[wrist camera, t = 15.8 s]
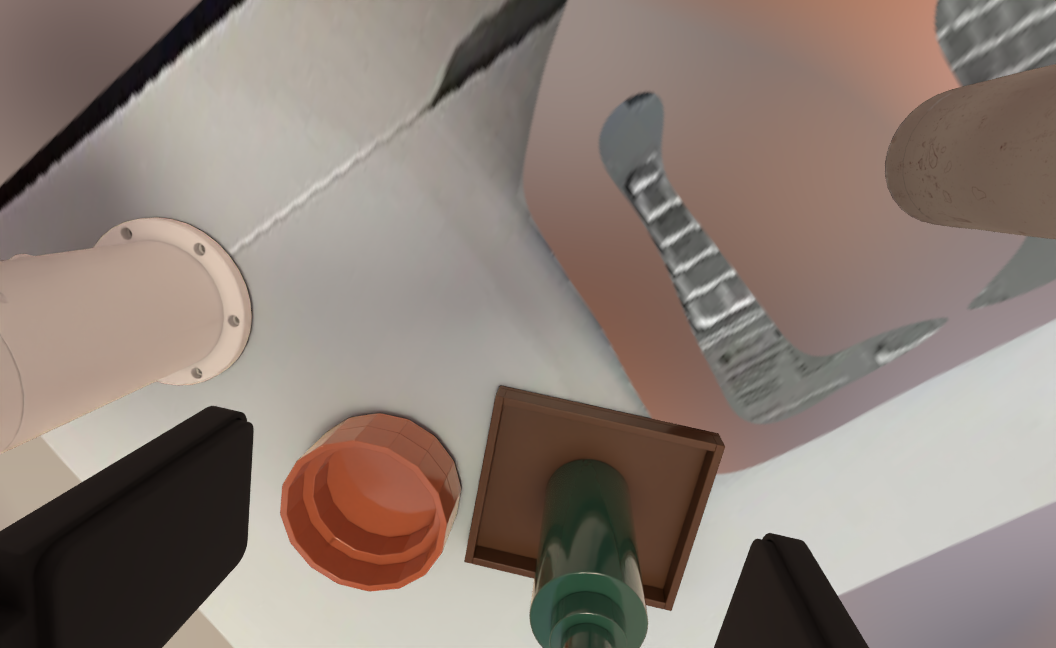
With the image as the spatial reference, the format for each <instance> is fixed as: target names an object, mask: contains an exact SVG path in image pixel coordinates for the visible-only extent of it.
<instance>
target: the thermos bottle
mask: <svg viewBox="0 0 1056 648" xmlns="http://www.w3.org/2000/svg"><path fill="white" fill-rule="evenodd" d="M885 177H886V181H887V186H888V189H889V191H890V193H891V196H892V198H893V199H894V201H895V202H896V203H897V204H898V206H900V208H901V209H902V210H903V211H905V212H906V213H907V214H908V215H910V216H911V217H914V218H916V219H918V220H920V221H923V222H927V223H931V224H936V225H943V226H950V227H958V228H968V229H979V230H986V231H993V232H1000V233H1008V234H1016V235H1024V236H1032V237H1040V238H1049V239H1056V64H1055V65H1050V66H1046V67H1041V68H1037V69H1032V70H1028V71H1024V72H1020V73H1016V74H1012V75H1008V76H1004V77H1000V78H996V79H992V80H988V81H984V82H980V83H976V84H972V85H968V86H964V87H960V88H956V89H952V90H949V91H946V92H943V93H941V94H938V95H936V96H934V97H932V98H930V99H929V100H927V101H925V102H923V103H922V104H921V105H920V106H918V107H917V108H916V109H915V110H914V111H912V112H911V113H910V114H909V115H908V117H907V118H906V119H905V120H904V121H903V122H902V123H901V125H900V126H899V128H898V129H897V131H896V133H895V134H894V136H893V138H892V141H891V143H890V145H889V148H888V151H887V156H886V161H885Z"/></svg>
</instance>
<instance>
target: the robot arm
mask: <svg viewBox="0 0 1056 648" xmlns="http://www.w3.org/2000/svg"><path fill="white" fill-rule="evenodd" d="M251 318H252V315H251V304H250V298H249V295H248V291H247V287H246V284H245V282H244V280H243V278H242V276H241V273H240V271H239V269H238V268H237V266H236V265H235V263H234V262H233V260H232V259H231V258H230V256H229V255H228V254H227V253H226V252H225V251H224V249H223V248H222V247H221V246H220V245H219V244H218V243H217V242H216V241H214V240H213V239H212V238H210V237H209V236H208V235H206V234H205V233H204V232H202V231H200V230H198V229H197V228H195V227H193V226H191V225H189V224H186V223H183V222H180V221H177V220H173V219H167V218H158V217H155V218H140V219H135V220H131V221H126V222H124V223H121V224H119V225H117V226H115V227H113V228H111V229H110V230H109V231H108V232H107V233H105V234H104V235H103V236H102V237H101V238H100V239H99V240H98V242H97V243H96V244H95V246H94V247H93V248H90V249H82V250H75V251H68V252H60V253H53V254H46V255H39V256H32V255H27V254H16V255H15V256H13V257H12V258H11V259H9V260H2V261H0V454H2V453H4V452H6V451H8V450H10V449H13V448H15V447H17V446H19V445H21V444H23V443H25V442H28V441H29V440H32V439H34V438H36V437H38V436H40V435H42V434H45V433H47V432H49V431H51V430H53V429H55V428H57V427H60V426H62V425H64V424H66V423H68V422H70V421H72V420H75V419H77V418H79V417H81V416H83V415H85V414H87V413H89V412H92V411H94V410H96V409H98V408H100V407H102V406H104V405H107V404H109V403H111V402H113V401H115V400H117V399H119V398H122V397H124V396H126V395H128V394H130V393H132V392H134V391H136V390H139V389H141V388H143V387H145V386H147V385H149V384H151V383H154V382H156V381H157V382H160V383H164V384H171V385H193V384H197V383H200V382H204V381H207V380H209V379H211V378H213V377H215V376H217V375H219V374H220V373H222V372H223V371H225V370H226V369H228V368H229V367H230V366H231V365H232V364H233V363H234V362H235V361H236V360H237V359H238V358H239V356H240V355H241V353H242V351H243V349H244V348H245V346H246V343H247V340H248V337H249V334H250V328H251ZM253 432H254V431H253V425H252V424H251V423H250V422H247V418H246V416H245V414H244V413H242V412H238V411H234V410H230V409H225V408H221V407H216V406H210V407H207V408H205V409H204V410H202V411H200V412H199V413H197V414H195V415H194V416H192V417H190V418H189V419H187V420H185V421H183V422H182V423H180V424H178V425H177V426H175V427H173V428H172V429H170V430H168V431H167V432H165V433H163V434H162V435H160V436H158V437H157V438H155V439H153V440H152V441H150V442H148V443H147V444H145V445H143V446H142V447H140V448H138V449H137V450H135V451H133V452H132V453H130V454H128V455H127V456H125V457H123V458H122V459H120V460H118V461H117V462H115V463H113V464H112V465H110V466H108V467H107V468H105V469H103V470H102V471H100V472H98V473H97V474H95V475H93V476H92V477H90V478H88V479H87V480H85V481H83V482H82V483H80V484H78V485H77V486H75V487H74V488H72V489H70V490H68V491H67V492H65V493H63V494H62V495H60V496H59V497H57V498H55V499H53V500H52V501H50V502H48V503H47V504H45V505H43V506H42V507H40V508H39V509H37V510H35V511H33V512H32V513H30V514H28V515H27V516H25V517H23V518H22V519H20V520H18V521H17V522H15V523H13V524H12V525H10V526H8V527H7V528H5V529H3V530H2V531H0V648H162V647H163V646H164V645H165V644H166V643H167V642H168V641H169V640H170V638H171V637H172V636H173V635H174V634H175V633H176V632H177V631H178V630H179V628H180V627H181V626H182V625H183V624H184V623H185V622H186V621H187V620H188V619H189V618H190V616H191V615H192V614H193V613H194V612H195V611H196V610H197V609H198V608H199V606H200V605H201V604H202V603H203V602H204V601H205V600H206V599H207V598H208V597H209V595H210V594H211V593H212V592H213V591H214V590H215V589H216V588H217V587H218V586H219V584H220V583H221V582H222V581H223V580H224V579H225V578H226V577H227V576H228V574H229V573H230V572H231V571H232V570H233V569H234V568H235V567H236V566H237V564H238V563H239V562H240V560H241V559H242V557H243V555H244V553H245V550H246V547H247V541H248V523H249V504H250V486H251V468H252V450H253ZM714 648H869V647H868V645H867V644H866V642H865V640H864V639H863V637H862V635H861V634H860V632H859V630H858V629H857V627H856V625H855V624H854V622H853V621H852V619H851V617H850V616H849V614H848V612H847V611H846V609H845V607H844V606H843V604H842V602H841V601H840V599H839V597H838V596H837V594H836V592H835V591H834V589H833V588H832V586H831V584H830V583H829V581H828V579H827V578H826V576H825V574H824V573H823V571H822V569H821V568H820V566H819V564H818V563H817V561H816V560H815V558H814V556H813V555H812V553H811V551H810V550H809V548H808V546H807V545H806V544H805V542H804V541H802V540H799V539H794V538H790V537H785V536H781V535H777V534H772V533H768V534H766V535H765V536H764V537H763V539H762V540H761V539H755V540H754V541H753V543H752V545H751V547H750V550H749V553H748V555H747V558H746V561H745V564H744V566H743V569H742V572H741V575H740V577H739V580H738V583H737V586H736V588H735V591H734V594H733V597H732V599H731V602H730V605H729V608H728V610H727V613H726V616H725V619H724V621H723V624H722V627H721V630H720V632H719V635H718V638H717V641H716V643H715V646H714Z"/></svg>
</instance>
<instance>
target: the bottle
mask: <svg viewBox="0 0 1056 648" xmlns="http://www.w3.org/2000/svg"><path fill="white" fill-rule="evenodd" d="M530 625H531V628H532V632H533V634H534V636H535V638H536V640H537V641H538V643H539V644H540V645H541V646H542V648H640V646H641V645H642V643H643V641H644V639H645V637H646V634H647V629H648V616H647V609H646V602H645V595H644V588H643V581H642V574H641V567H640V560H639V553H638V546H637V539H636V532H635V525H634V518H633V511H632V504H631V496H630V491H629V487H628V485H627V482H626V481H625V479H624V477H623V476H622V475H621V474H620V473H619V472H618V471H617V470H616V469H615V468H613V467H612V466H610V465H608V464H606V463H604V462H601V461H598V460H593V459H579V460H574V461H571V462H568V463H566V464H564V465H563V466H561V467H560V468H558V469H557V470H556V471H555V472H554V473H553V474H552V476H551V477H550V479H549V481H548V483H547V486H546V491H545V498H544V506H543V513H542V521H541V529H540V536H539V544H538V552H537V560H536V567H535V575H534V583H533V591H532V598H531V606H530Z"/></svg>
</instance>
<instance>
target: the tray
mask: <svg viewBox="0 0 1056 648" xmlns="http://www.w3.org/2000/svg"><path fill="white" fill-rule="evenodd" d="M724 448H725V446H724V443H723V442H722V440H721V438H720V436H719V434H718V433H714V432H709V431H705V430H700V429H696V428H691V427H686V426H682V425H677V424H673V423H668V422H663V421H659V420H655V419H650V418H646V417H641V416H637V415H632V414H628V413H623V412H619V411H614V410H609V409H605V408H600V407H596V406H591V405H587V404H582V403H578V402H573V401H569V400H564V399H560V398H555V397H550V396H546V395H541V394H537V393H532V392H528V391H523V390H519V389H514V388H510V387H505V386H500V387H499V389H498V392H497V394H496V397H495V402H494V408H493V413H492V418H491V423H490V429H489V434H488V439H487V445H486V450H485V455H484V460H483V466H482V471H481V476H480V481H479V487H478V492H477V497H476V503H475V508H474V513H473V518H472V524H471V529H470V534H469V539H468V545H467V550H466V555H465V562H467V563H472V564H476V565H480V566H484V567H488V568H492V569H497V570H501V571H505V572H509V573H513V574H518V575H522V576H526V577H530V578H534V575H535V567H536V560H537V552H538V544H539V536H540V529H541V521H542V513H543V506H544V498H545V491H546V486H547V483H548V481H549V479H550V477H551V476H552V474H553V473H554V472H555V471H556V470H557V469H558V468H560V467H561V466H563V465H564V464H566V463H568V462H571V461H574V460H579V459H593V460H598V461H601V462H604V463H606V464H608V465H610V466H612V467H613V468H615V469H616V470H617V471H618V472H619V473H620V474H621V475H622V476H623V477H624V479H625V481H626V482H627V485H628V487H629V491H630V496H631V504H632V511H633V518H634V525H635V532H636V539H637V546H638V553H639V560H640V567H641V574H642V581H643V588H644V595H645V602H646V605H648V606H652V607H656V608H661V609H665V610H669V611H671V610H672V607H673V604H674V601H675V598H676V595H677V592H678V589H679V586H680V583H681V580H682V577H683V574H684V571H685V568H686V565H687V562H688V559H689V555H690V552H691V549H692V546H693V543H694V540H695V537H696V534H697V531H698V528H699V525H700V522H701V519H702V516H703V513H704V510H705V507H706V504H707V501H708V497H709V494H710V491H711V488H712V485H713V482H714V479H715V476H716V473H717V470H718V467H719V464H720V461H721V458H722V455H723V452H724Z"/></svg>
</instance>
